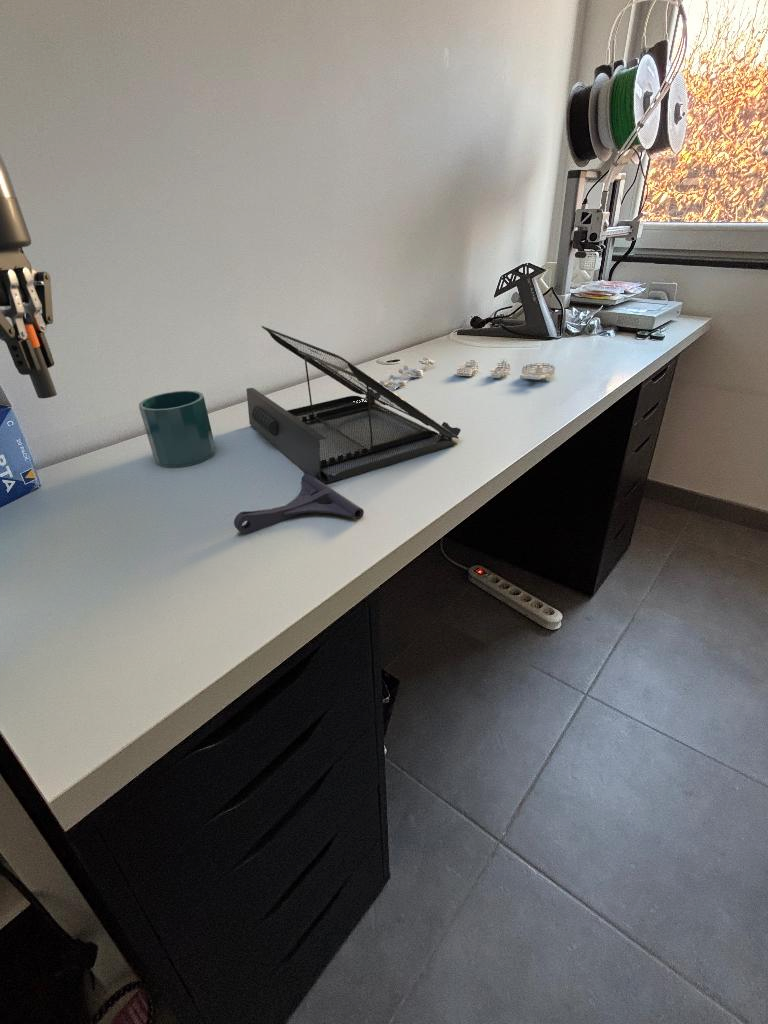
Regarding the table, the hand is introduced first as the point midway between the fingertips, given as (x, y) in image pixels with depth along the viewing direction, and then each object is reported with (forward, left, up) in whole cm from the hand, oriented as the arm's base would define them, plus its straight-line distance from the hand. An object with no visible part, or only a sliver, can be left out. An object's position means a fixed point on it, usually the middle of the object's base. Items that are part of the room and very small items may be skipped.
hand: (37, 369), depth 61 cm
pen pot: (+4, +24, -22) cm, 33 cm away
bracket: (+26, +1, -22) cm, 34 cm away
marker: (0, 0, -3) cm, 3 cm away
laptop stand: (+32, +31, -22) cm, 49 cm away
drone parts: (+58, +59, -22) cm, 86 cm away
